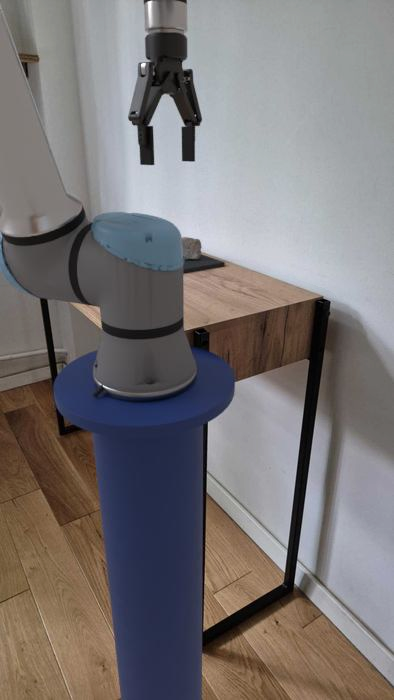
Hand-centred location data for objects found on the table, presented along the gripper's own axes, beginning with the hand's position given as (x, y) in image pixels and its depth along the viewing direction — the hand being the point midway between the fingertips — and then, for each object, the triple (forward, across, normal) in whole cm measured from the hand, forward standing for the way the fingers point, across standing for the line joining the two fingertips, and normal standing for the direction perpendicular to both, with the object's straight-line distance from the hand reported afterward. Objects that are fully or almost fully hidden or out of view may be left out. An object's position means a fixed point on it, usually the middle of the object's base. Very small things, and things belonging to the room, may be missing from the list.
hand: (169, 163), depth 94 cm
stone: (+26, -25, -14) cm, 39 cm away
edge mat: (+27, -25, -14) cm, 39 cm away
